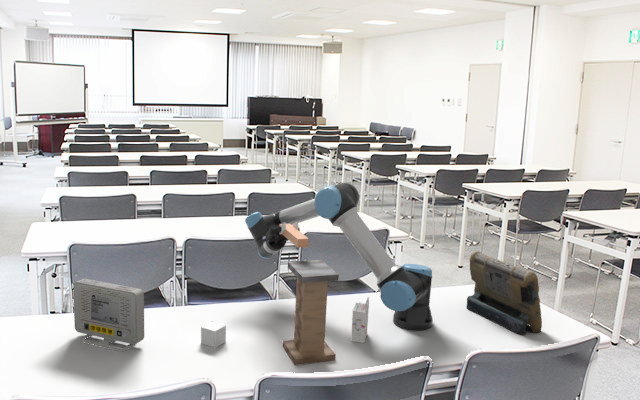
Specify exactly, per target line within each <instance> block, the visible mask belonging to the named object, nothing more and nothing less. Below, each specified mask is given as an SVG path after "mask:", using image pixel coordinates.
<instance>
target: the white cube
mask: <svg viewBox="0 0 640 400" xmlns="http://www.w3.org/2000/svg"><path fill="white" fill-rule="evenodd" d="M226 341H227V325H225V324H223V323H218V322H215V321H214V320H213V321H211V322H209V323H207V324H205V325H203V326H201V328H200V344H202V345H206V346H209V347H211V348H214V349H215V348H217V347H218V346H220V345H222V344H223V343H225V342H226Z"/></svg>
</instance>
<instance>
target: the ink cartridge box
mask: <svg viewBox="0 0 640 400" xmlns="http://www.w3.org/2000/svg"><path fill="white" fill-rule="evenodd" d="M369 301H370V299H369V296H367V299H366V300H365V303H361V302H355V304H354V307H353V309H352V318H351V320H352V321H351V322H352V323H351V338H350V339H351V340H350V341H351V342H353V343H360V344H364V343H365V341H366V339H367V338H366V337H367V333H368V326H369V325H368V323H369V309H370V306H369V305H370V302H369Z"/></svg>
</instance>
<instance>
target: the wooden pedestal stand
mask: <svg viewBox="0 0 640 400" xmlns="http://www.w3.org/2000/svg"><path fill="white" fill-rule="evenodd" d="M287 269H288V270H290V271H291V273H292V274H293V275H294V276H295V277H296V285H295V287H296V289H295V310H294V312H295V313H294V334H293V335H294V336H293V339H288V340H287V339H286V340H282V347H283V349H284V351H285V352H286V353H287V355H288V357H289V358H290V360H291V361H292V363H293V364H294V366H300V365H306V364H307V365H309V364H314V363H323V362H330V361H336V360H337V359H336V353H335V352H334V350H333V349H332V348H331V346H329V344H328V343H327V342H326V341H325V340H326V324H327V323H326V322H327V321H326V320H327V306H328V305H327V303H328V284H329V282H337V281H339V273H337V272H336V271H335V270H334V269H333V268H332V267H331V266H329V265H328V264H327V263H326V262H324V260H322V259H315V260H313V259H311V260H297V261H287Z"/></svg>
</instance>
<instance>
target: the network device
mask: <svg viewBox="0 0 640 400" xmlns="http://www.w3.org/2000/svg"><path fill="white" fill-rule="evenodd" d="M72 291H73V293H72V294H73V317H74V318H73V319H74V329H75V331H76V332H77V333H80V334H84V335H83V336H82V337H81V338H80V341H82V342H85V343H84V344H86V343H89V344H88V345H90V344H94V345H93V346H95V345H97V346H96V347H99V346H101V347H100V348H103V347H105V349H108V348H109V350H112V349H113V351H116V350H118V351H117V352H121V351H127V350H130V349H131V348H133V347H134V346H136V345H137V344H139V343H140V342H142V341H143V340H144V339H145V293H144V290H143V289H141V288H137V287H131V286H126V285H120V284H116V283H110V282H104V281H98V280H94V279H90V278H89V279H88V278H81V279H80V280H77V281H75V282H74V283H73V285H72ZM91 335H92V336H91ZM89 336H90V337H93V336H94V337H97V338H101V339H102V340H101V341H99V342H95V341H92V340H91V341H90V340H87V339H88V338H87V337H89ZM90 337H89V338H90ZM85 338H87V339H85ZM84 339H85V340H84ZM115 341H116V342H120V343H125V344H128V345H126V346H124V347H116V346H113V345H111V344H112V343H114V342H115ZM82 342H81V343H82Z"/></svg>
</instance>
